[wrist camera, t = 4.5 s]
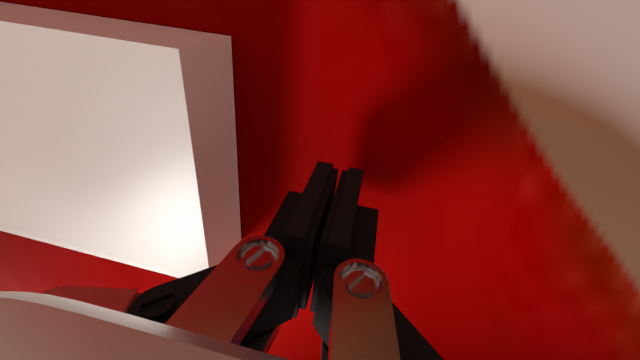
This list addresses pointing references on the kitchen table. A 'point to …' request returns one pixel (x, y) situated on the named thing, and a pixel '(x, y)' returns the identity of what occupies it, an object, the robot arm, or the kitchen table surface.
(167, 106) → the white thin flat slab
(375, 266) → the robot arm
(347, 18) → the kitchen table surface
